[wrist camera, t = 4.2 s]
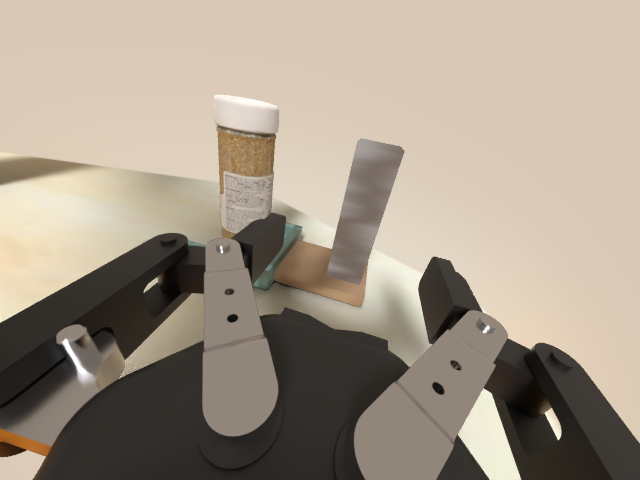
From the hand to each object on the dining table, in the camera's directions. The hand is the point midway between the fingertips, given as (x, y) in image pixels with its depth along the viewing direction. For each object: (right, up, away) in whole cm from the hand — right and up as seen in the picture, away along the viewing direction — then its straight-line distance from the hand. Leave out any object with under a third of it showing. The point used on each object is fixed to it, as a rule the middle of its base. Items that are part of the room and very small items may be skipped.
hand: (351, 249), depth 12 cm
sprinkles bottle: (-9, -1, +11) cm, 14 cm away
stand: (-5, -2, +10) cm, 11 cm away
